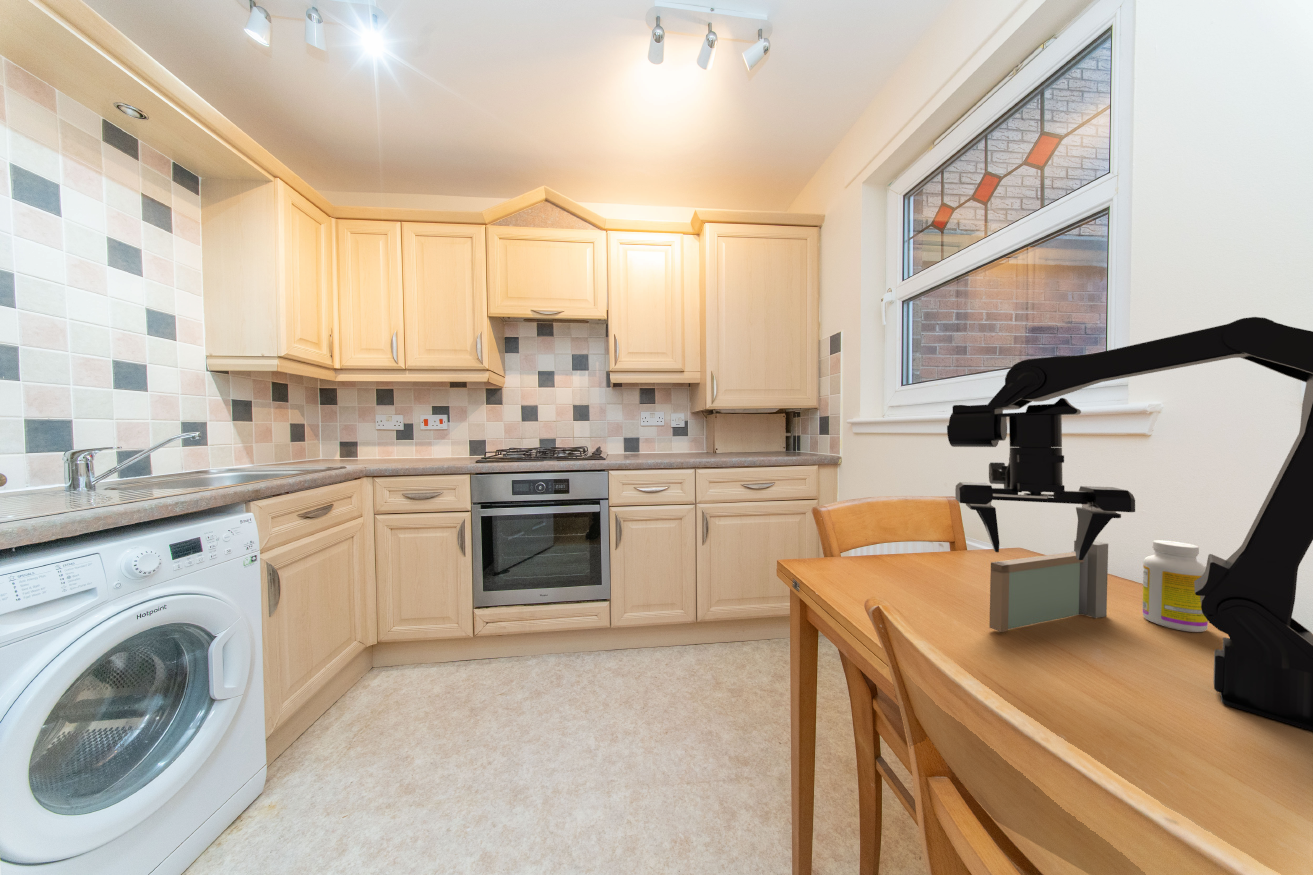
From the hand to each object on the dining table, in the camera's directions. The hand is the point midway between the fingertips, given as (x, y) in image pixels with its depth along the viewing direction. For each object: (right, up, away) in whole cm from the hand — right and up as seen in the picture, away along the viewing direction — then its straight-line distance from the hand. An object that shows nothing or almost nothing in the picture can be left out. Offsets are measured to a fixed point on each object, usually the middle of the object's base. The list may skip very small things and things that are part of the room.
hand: (1036, 555), depth 62 cm
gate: (+6, -12, +6) cm, 14 cm away
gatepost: (+17, -12, +10) cm, 24 cm away
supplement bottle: (+27, -13, +6) cm, 31 cm away
